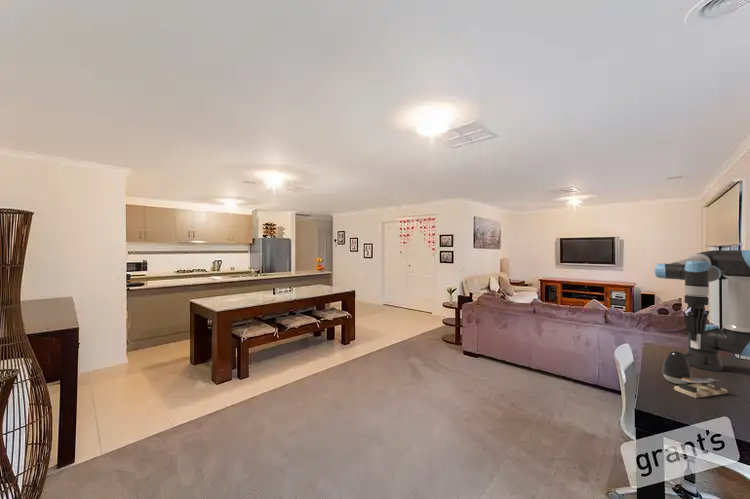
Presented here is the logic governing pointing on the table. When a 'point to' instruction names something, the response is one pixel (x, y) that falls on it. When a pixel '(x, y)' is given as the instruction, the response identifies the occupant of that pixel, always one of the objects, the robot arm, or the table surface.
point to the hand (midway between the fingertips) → (695, 347)
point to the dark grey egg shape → (676, 367)
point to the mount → (701, 389)
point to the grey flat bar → (699, 380)
